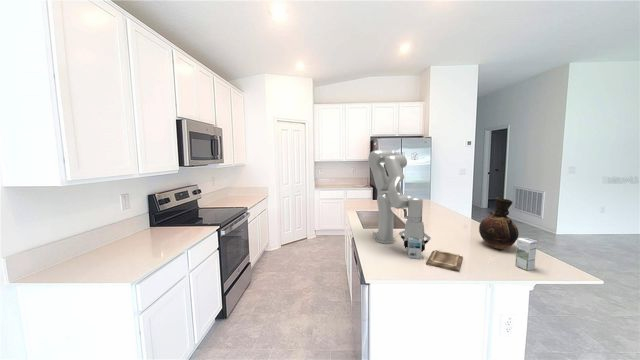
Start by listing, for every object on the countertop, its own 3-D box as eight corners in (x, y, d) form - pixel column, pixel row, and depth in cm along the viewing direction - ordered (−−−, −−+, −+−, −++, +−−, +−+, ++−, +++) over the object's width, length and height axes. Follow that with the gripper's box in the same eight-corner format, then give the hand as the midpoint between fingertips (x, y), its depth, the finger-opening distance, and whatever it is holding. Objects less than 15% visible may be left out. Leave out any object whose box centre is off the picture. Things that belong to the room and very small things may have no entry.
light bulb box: (421, 259, 134) (422, 240, 132) (408, 258, 135) (409, 239, 134) (418, 251, 144) (419, 233, 143) (406, 250, 146) (407, 232, 144)
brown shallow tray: (426, 264, 128) (426, 260, 127) (432, 252, 142) (432, 248, 142) (459, 272, 119) (459, 267, 119) (462, 258, 134) (462, 254, 134)
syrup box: (535, 269, 121) (537, 240, 120) (527, 271, 119) (529, 242, 117) (522, 264, 127) (524, 236, 125) (514, 266, 124) (516, 238, 123)
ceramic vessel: (471, 241, 159) (473, 195, 156) (496, 239, 161) (499, 194, 157) (496, 254, 138) (500, 202, 135) (525, 253, 140) (530, 201, 136)
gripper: (397, 218, 139) (396, 248, 141) (430, 223, 129) (429, 255, 131) (401, 215, 145) (400, 244, 147) (433, 219, 135) (431, 250, 137)
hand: (414, 249), depth 139 cm, fingers closed on light bulb box, 8 cm apart
